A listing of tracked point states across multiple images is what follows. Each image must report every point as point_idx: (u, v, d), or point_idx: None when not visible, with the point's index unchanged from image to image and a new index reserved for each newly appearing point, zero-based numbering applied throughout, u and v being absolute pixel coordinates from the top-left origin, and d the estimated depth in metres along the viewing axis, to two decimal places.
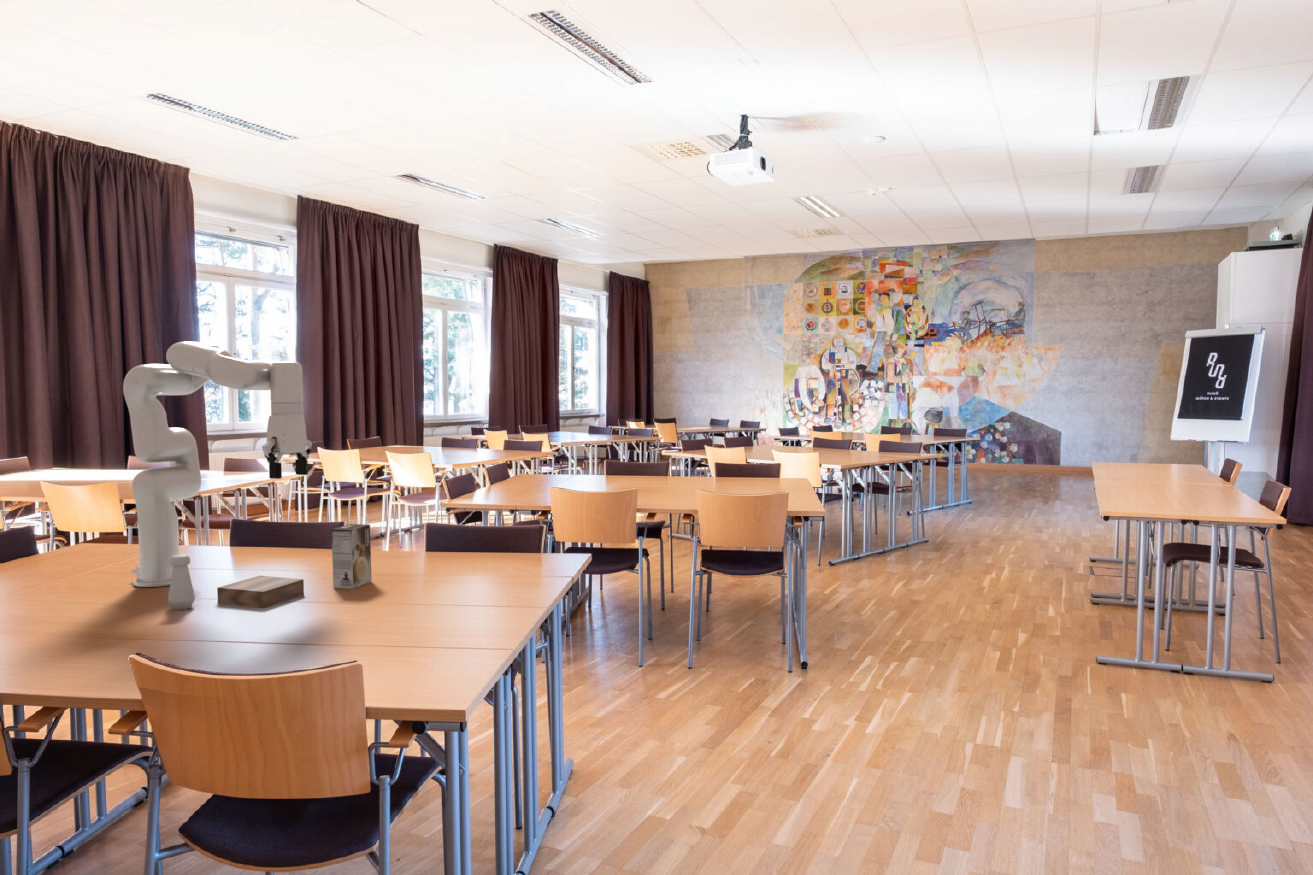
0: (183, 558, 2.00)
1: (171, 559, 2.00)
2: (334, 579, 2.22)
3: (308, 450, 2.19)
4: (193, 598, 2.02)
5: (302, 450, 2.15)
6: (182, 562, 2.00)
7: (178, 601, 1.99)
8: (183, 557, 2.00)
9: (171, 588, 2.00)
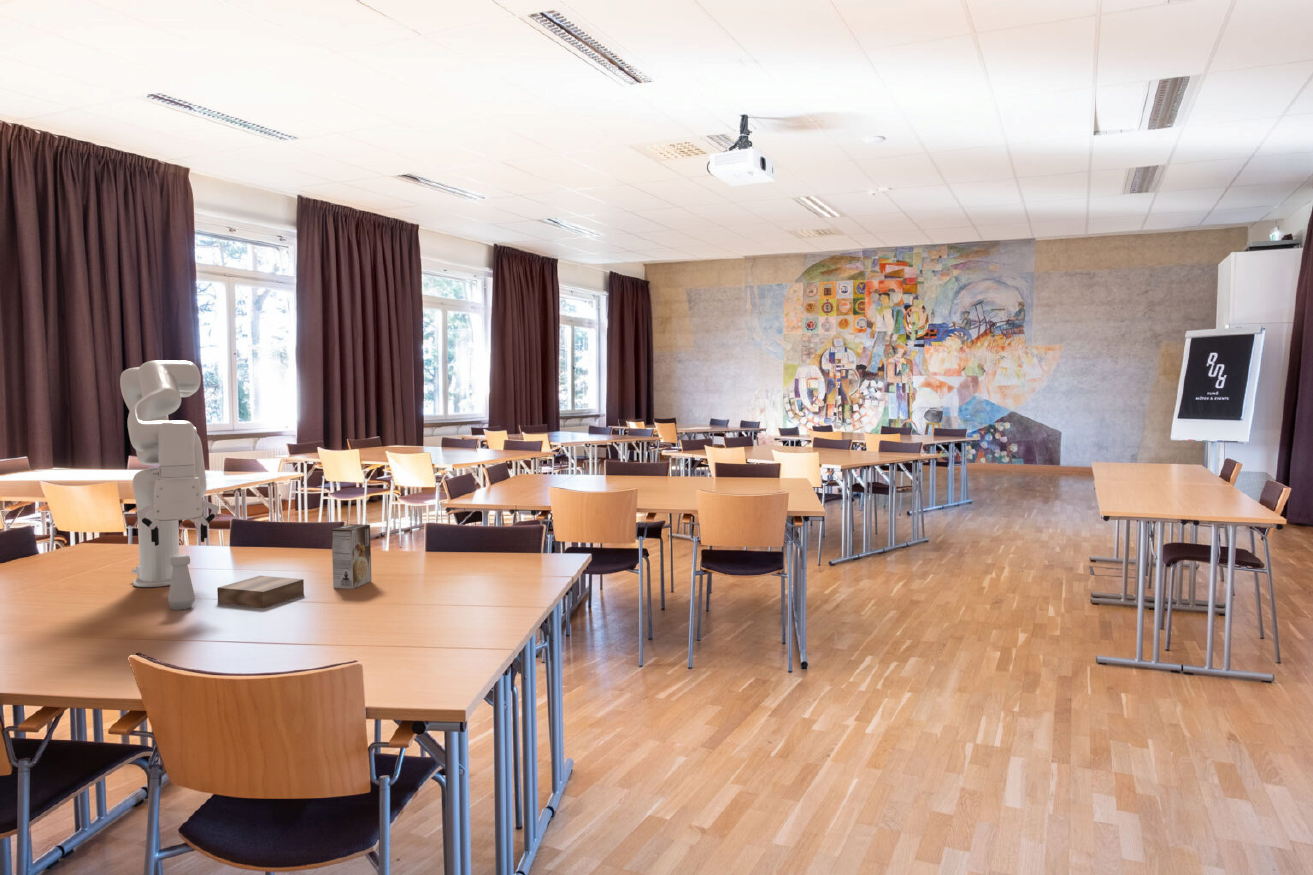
0: (183, 558, 2.00)
1: (171, 559, 2.00)
2: (334, 579, 2.22)
3: None
4: (193, 598, 2.02)
5: None
6: (182, 562, 2.00)
7: (178, 601, 1.99)
8: (183, 557, 2.00)
9: (171, 588, 2.00)
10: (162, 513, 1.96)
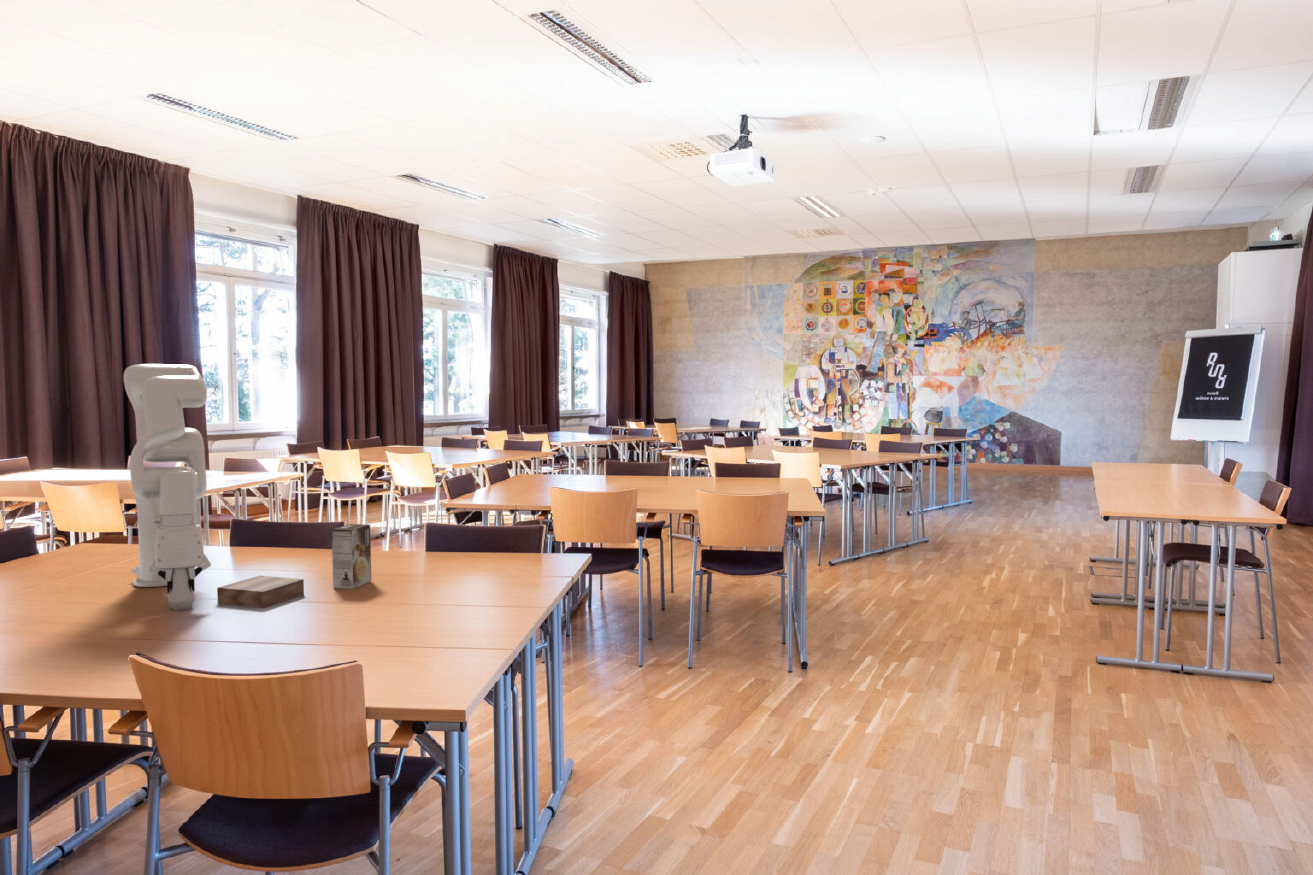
0: None
1: None
2: (334, 579, 2.22)
3: None
4: (193, 598, 2.02)
5: None
6: None
7: (178, 601, 1.99)
8: None
9: None
10: (163, 562, 1.97)
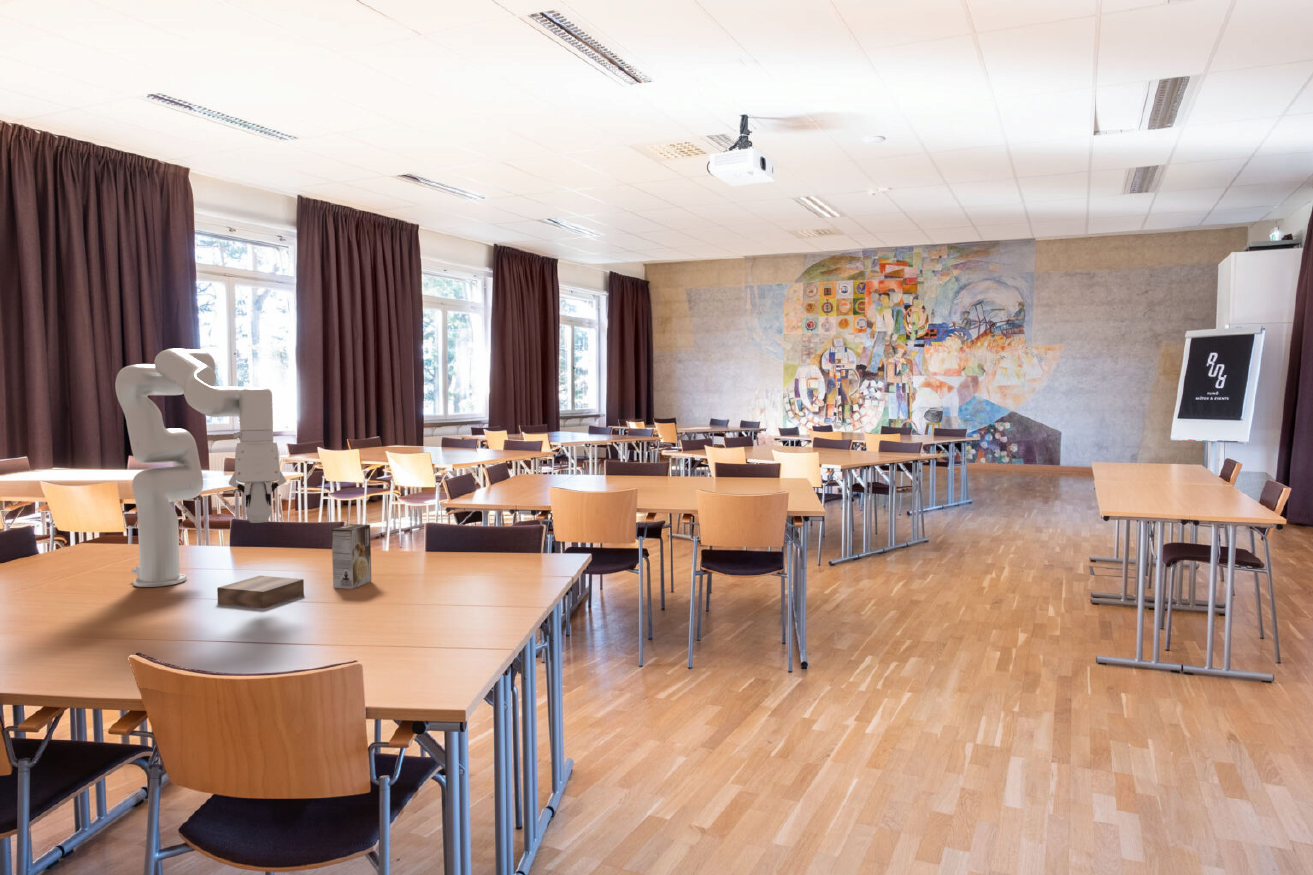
0: None
1: None
2: (334, 579, 2.22)
3: None
4: (270, 512, 2.10)
5: None
6: None
7: (256, 514, 2.07)
8: None
9: None
10: (243, 475, 2.05)
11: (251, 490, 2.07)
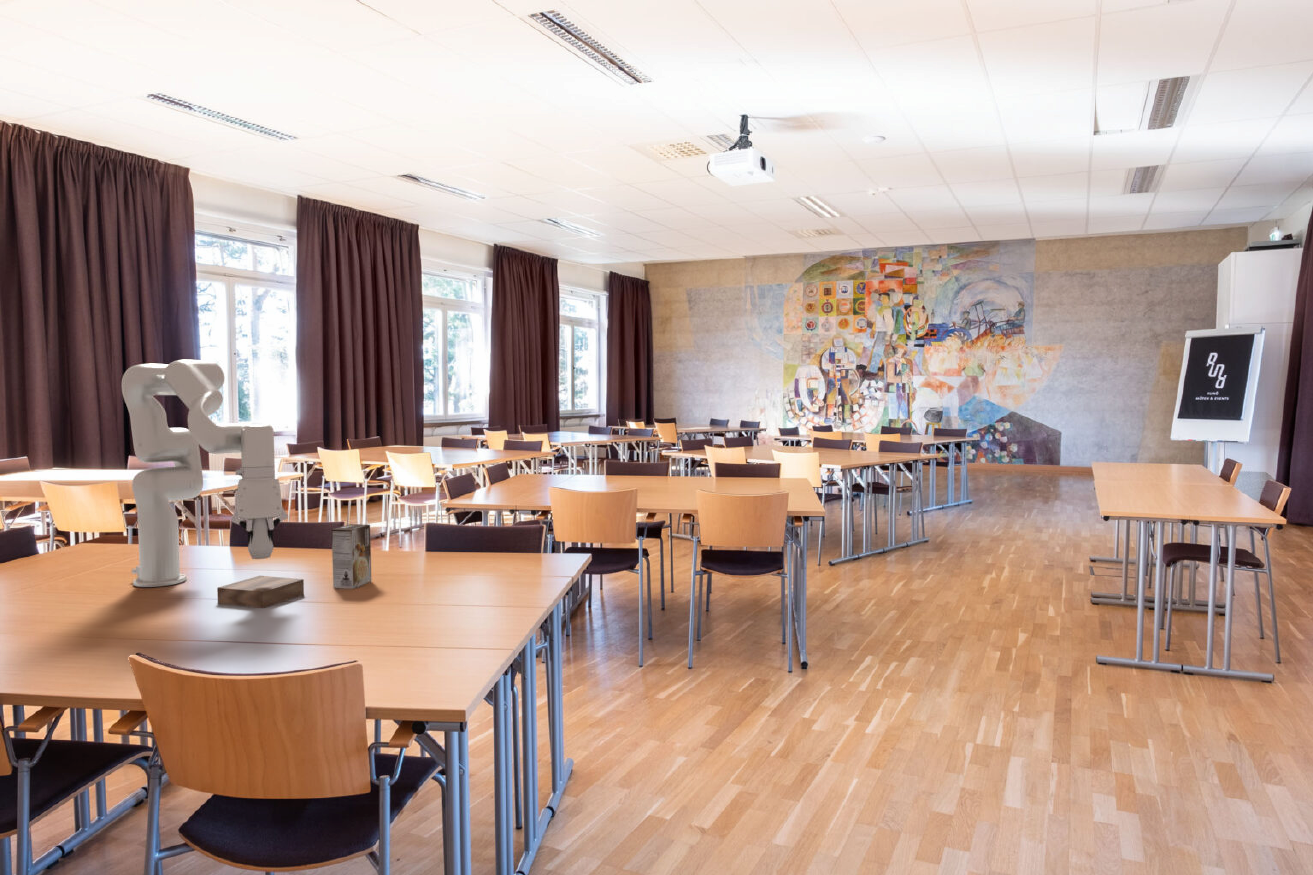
0: None
1: None
2: (334, 579, 2.22)
3: None
4: (272, 548, 2.10)
5: None
6: None
7: (258, 551, 2.07)
8: None
9: None
10: (245, 512, 2.06)
11: (253, 526, 2.08)
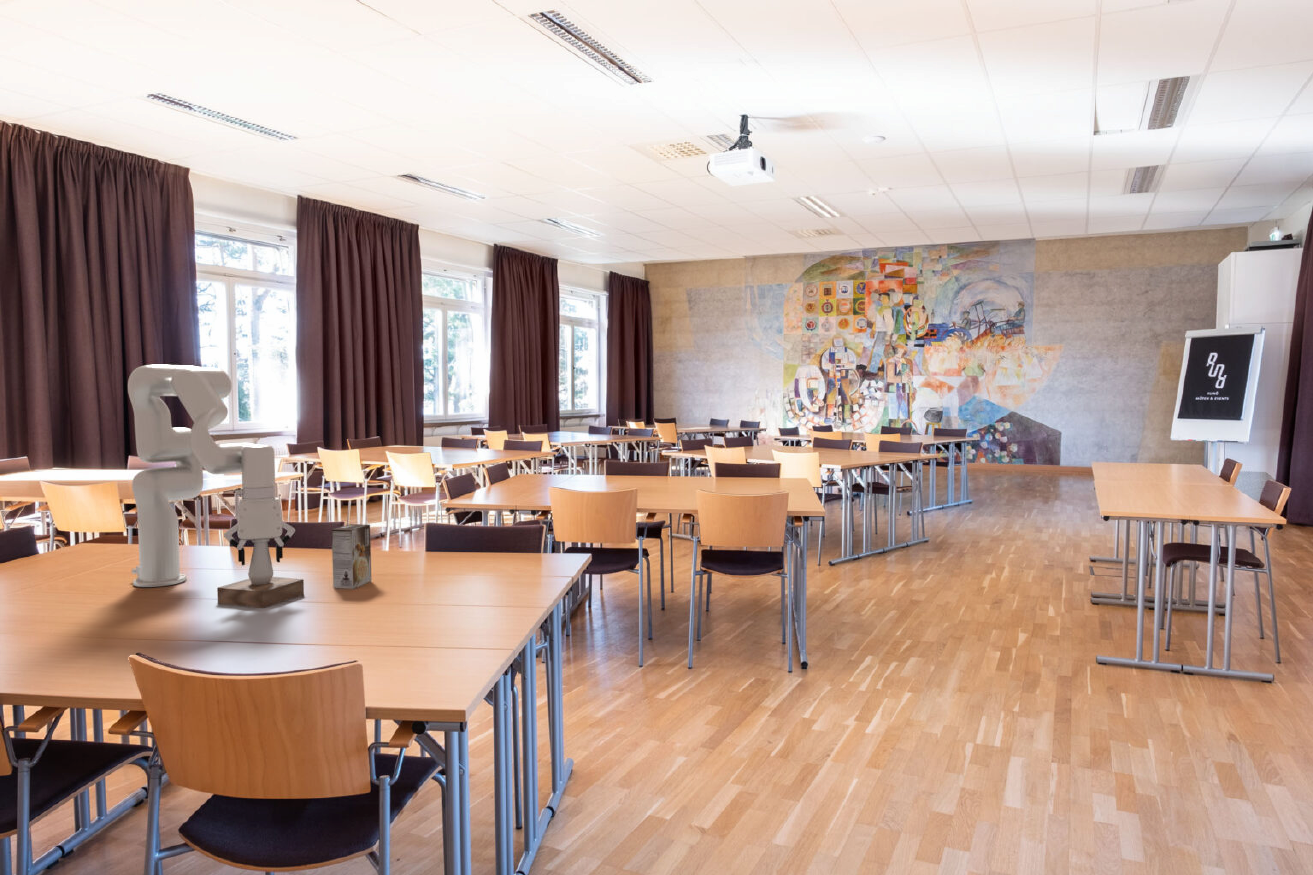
0: None
1: None
2: (334, 579, 2.22)
3: None
4: (272, 574, 2.11)
5: None
6: (263, 539, 2.08)
7: (258, 576, 2.08)
8: None
9: (252, 563, 2.08)
10: (245, 533, 2.06)
11: (254, 552, 2.09)
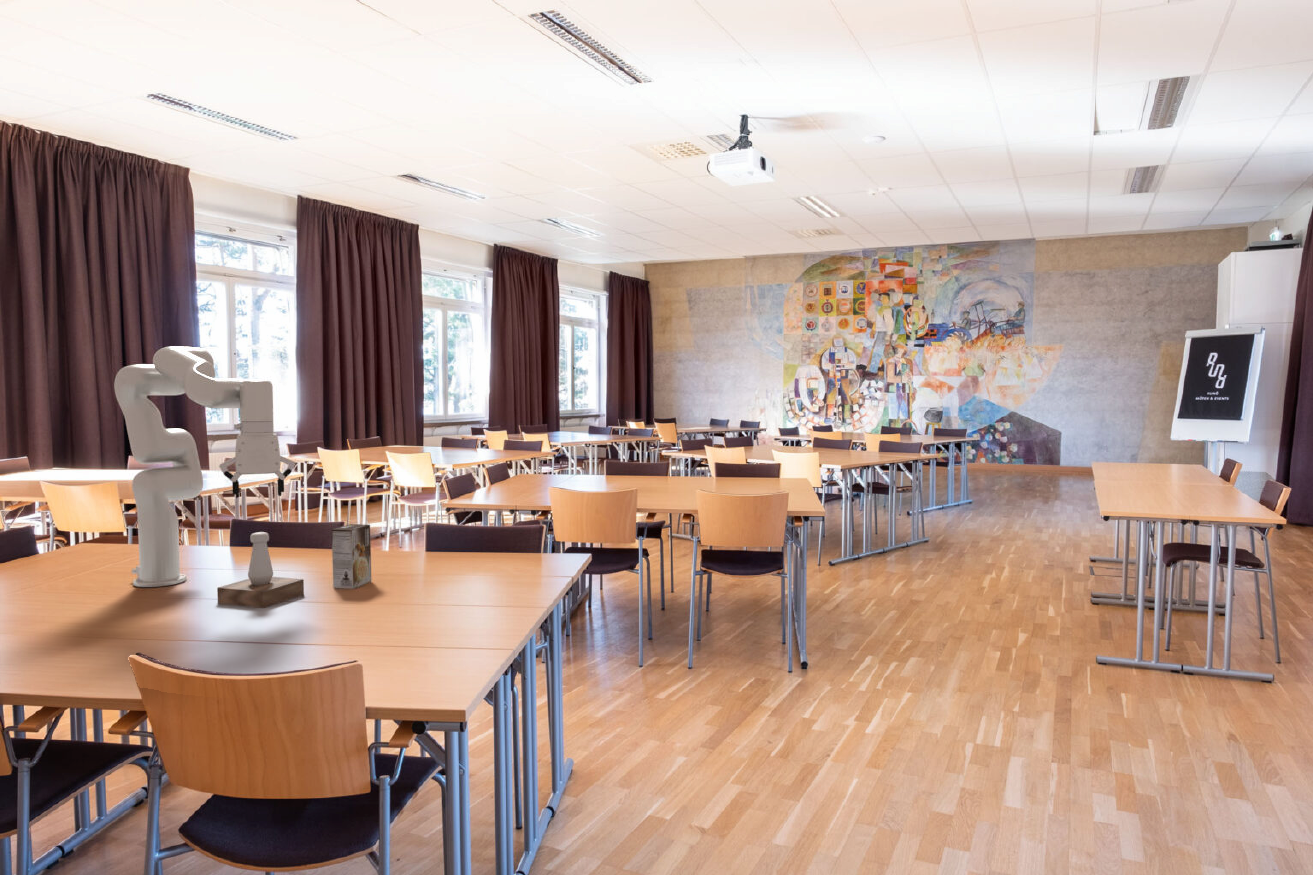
0: (263, 535, 2.09)
1: (252, 536, 2.08)
2: (334, 579, 2.22)
3: None
4: (272, 574, 2.11)
5: None
6: (262, 539, 2.08)
7: (258, 577, 2.08)
8: (263, 534, 2.09)
9: (252, 564, 2.08)
10: (243, 467, 2.05)
11: (253, 552, 2.08)
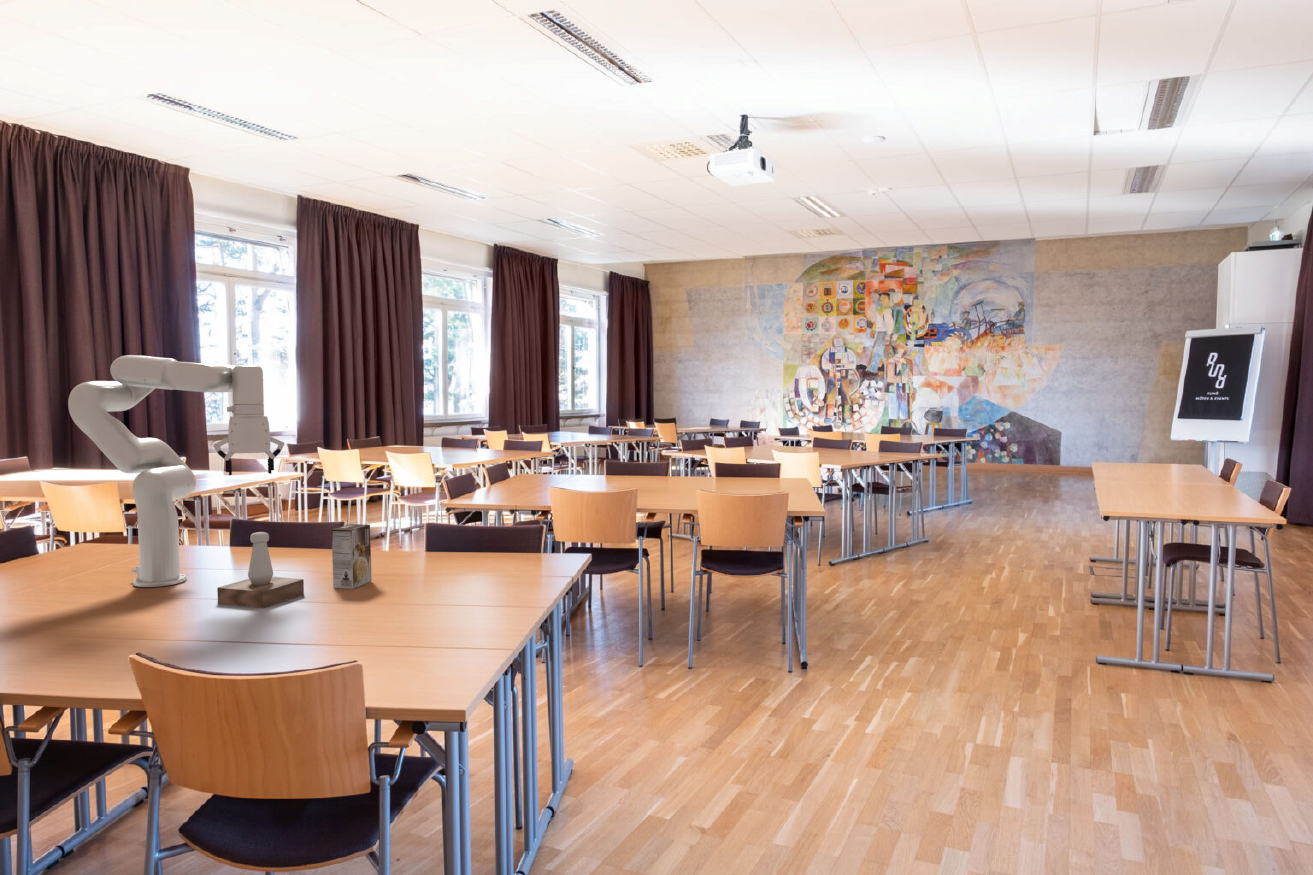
0: (263, 535, 2.09)
1: (252, 536, 2.08)
2: (334, 579, 2.22)
3: None
4: (272, 574, 2.11)
5: None
6: (262, 539, 2.08)
7: (258, 577, 2.08)
8: (263, 534, 2.09)
9: (252, 564, 2.08)
10: (236, 446, 2.20)
11: (253, 552, 2.08)
